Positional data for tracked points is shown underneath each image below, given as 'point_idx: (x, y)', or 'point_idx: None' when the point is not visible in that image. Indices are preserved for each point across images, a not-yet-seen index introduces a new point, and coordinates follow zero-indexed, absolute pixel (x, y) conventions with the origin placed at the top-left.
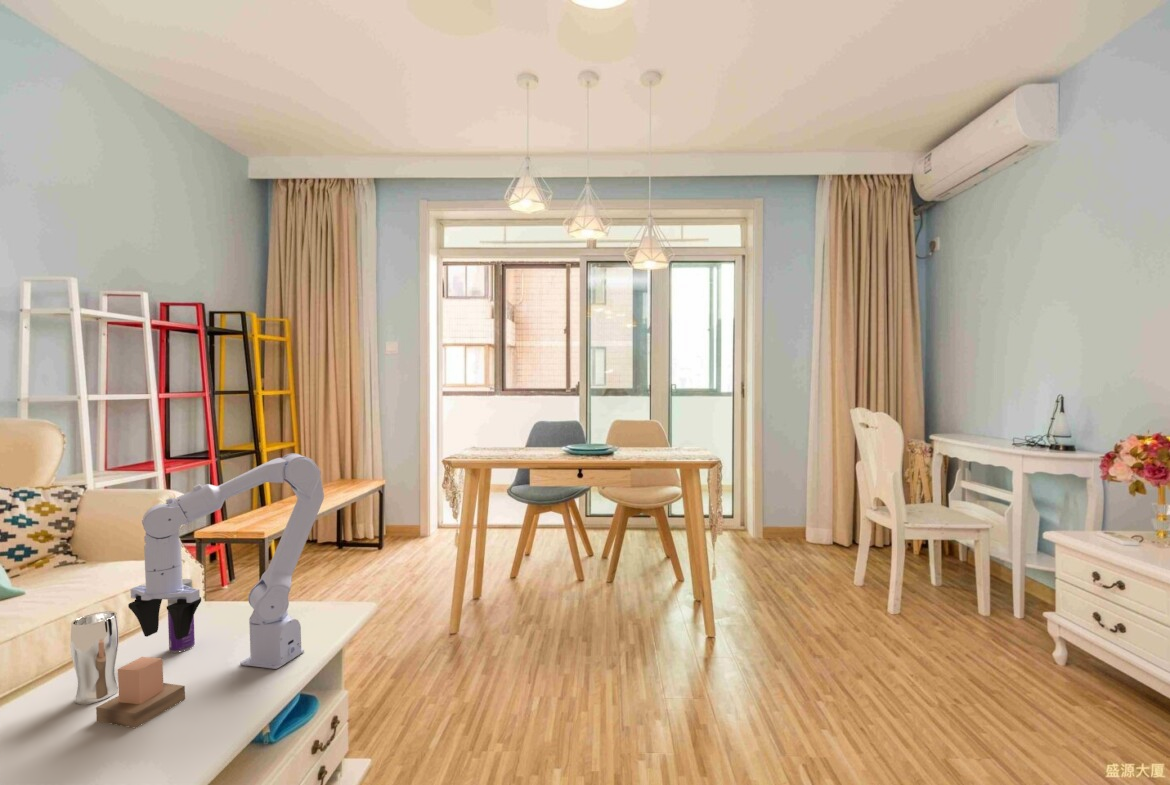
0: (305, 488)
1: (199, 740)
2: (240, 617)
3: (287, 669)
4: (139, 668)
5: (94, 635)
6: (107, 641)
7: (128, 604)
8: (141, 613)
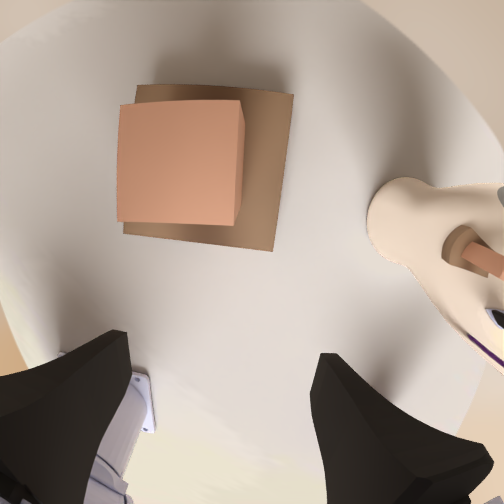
0: None
1: (9, 107)
2: (326, 494)
3: (46, 350)
4: (133, 120)
5: None
6: (459, 257)
7: (492, 461)
8: (372, 442)
